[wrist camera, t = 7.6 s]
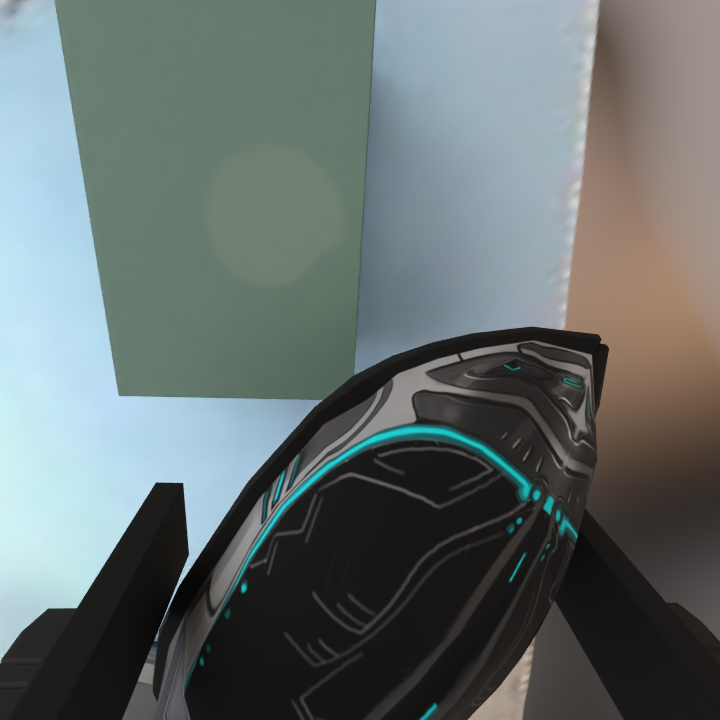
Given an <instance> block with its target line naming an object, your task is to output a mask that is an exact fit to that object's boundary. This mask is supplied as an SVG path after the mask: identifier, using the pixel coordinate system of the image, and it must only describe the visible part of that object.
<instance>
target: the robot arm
mask: <svg viewBox="0 0 720 720" xmlns="http://www.w3.org/2000/svg"><path fill="white" fill-rule="evenodd" d="M188 555H189V550H188V537H187V525H186V513H185V501H184V488H183V483H156V484H155V485H154V487H153V488H152V490H151V491H150V493H149V495H148V496H147V498H146V499H145V501H144V503H143V504H142V506H141V507H140V509H139V511H138V512H137V514H136V515H135V517H134V518H133V520H132V522H131V523H130V525H129V526H128V528H127V530H126V531H125V533H124V534H123V536H122V538H121V539H120V541H119V542H118V544H117V545H116V547H115V549H114V550H113V552H112V553H111V555H110V557H109V558H108V560H107V561H106V563H105V565H104V566H103V568H102V569H101V571H100V572H99V574H98V576H97V577H96V579H95V580H94V582H93V584H92V585H91V587H90V588H89V590H88V592H87V593H86V595H85V596H84V598H83V599H82V601H81V603H80V604H79V606H78V607H77V608H62V609H47V610H46V611H45V612H44V613H43V614H42V615H40V616H39V617H38V618H37V619H36V620H35V621H34V622H32V623H31V624H30V625H29V626H28V627H27V628H25V629H24V630H23V631H22V632H21V633H20V635H19V636H18V637H17V639H16V640H15V642H14V643H13V644H12V646H11V647H10V648H9V650H8V651H7V653H6V654H5V655H4V657H3V658H2V659H1V663H0V720H154V718H155V713H156V709H157V704H158V703H157V701H156V698H155V696H154V694H153V685H152V682H153V674H154V666H155V658H156V650H157V644H156V643H153V642H154V640H155V637H156V635H157V632H158V630H159V627H160V625H161V622H162V620H163V617H164V615H165V612H166V610H167V607H168V605H169V602H170V600H171V597H172V595H173V593H174V590H175V588H176V585H177V583H178V580H179V578H180V575H181V573H182V570H183V568H184V565H185V563H186V560H187V558H188ZM555 602H556V603H557V605H558V607H559V609H560V610H561V612H562V614H563V616H564V617H565V619H566V620H567V622H568V624H569V626H570V628H571V629H572V631H573V632H574V634H575V636H576V638H577V640H578V641H579V643H580V645H581V646H582V648H583V650H584V652H585V653H586V655H587V657H588V659H589V660H590V662H591V664H592V666H593V667H594V669H595V671H596V672H597V674H598V676H599V678H600V679H601V681H602V683H603V685H604V686H605V688H606V690H607V691H608V693H609V695H610V696H611V698H612V700H613V702H614V703H615V705H616V707H617V708H618V710H619V712H620V714H621V715H622V717H623V719H624V720H720V641H719V640H718V639H717V638H716V637H715V636H714V635H713V634H712V633H711V632H710V630H708V628H707V627H706V626H705V625H704V624H703V623H702V622H701V621H700V620H699V619H697V618H696V617H695V616H693V615H692V614H691V613H690V612H688V611H687V610H686V609H685V608H683V607H682V606H680V605H679V604H677V603H666V602H665V601H664V600H663V598H662V597H661V596H660V595H659V594H658V593H657V592H656V590H655V589H654V588H653V587H652V586H651V584H650V583H649V582H648V581H647V580H646V579H645V577H644V576H643V575H642V574H641V573H640V572H639V571H638V570H637V568H636V567H635V566H634V565H633V564H632V562H631V561H630V560H629V559H628V558H627V557H626V555H625V554H624V553H623V552H622V551H621V550H620V548H619V547H618V546H617V545H616V544H615V543H614V542H613V540H612V539H611V538H610V537H609V536H608V534H607V533H606V532H605V531H604V530H603V529H602V527H601V526H600V525H599V524H598V523H597V522H596V520H595V519H594V518H593V517H592V516H591V515H590V514H589V512H588V511H587V510H586V509H585V510H584V514H583V518H582V521H581V525H580V529H579V533H578V537H577V541H576V544H575V548H574V551H573V554H572V557H571V560H570V563H569V566H568V569H567V571H566V574H565V577H564V579H563V582H562V584H561V586H560V588H559V591H558V593H557V595H556V597H555Z"/></svg>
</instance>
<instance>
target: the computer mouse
mask: <svg viewBox="0 0 720 720" xmlns="http://www.w3.org/2000/svg"><path fill="white" fill-rule="evenodd" d="M600 341H601V338H600V336H599V335H597V334H589V333H580V332H572V331H564V330H556V329H548V328H539V327H524V328H515V329H507V330H498V331H489V332H481V333H472V334H468V335H464V336H459V337H455V338H450V339H446V340H442V341H437V342H433V343H430V344H427V345H424V346H421V347H418V348H415V349H412V350H409V351H406V352H403V353H400V354H396V355H393V356H391V357H389V358H387V359H385V360H383V361H382V362H380V363H378V364H376V365H374V366H372V367H370V368H368V369H366V370H364V371H362V372H360V373H358V374H356V375H354V376H352V377H351V378H350V379H349V380H347V381H346V382H345V383H344V384H343V385H341V386H340V387H339V388H338V389H336V390H335V391H334V392H333V393H332V394H330V395H329V396H328V397H327V398H325V399H324V400H323V401H322V402H321V403H319V404H318V405H317V406H316V407H314V408H313V410H312V411H311V412H310V413H309V414H308V415H307V416H306V417H305V419H304V420H303V421H302V422H301V423H300V424H299V425H298V426H297V428H296V429H295V430H294V431H293V432H292V433H291V434H290V435H289V436H288V438H287V439H286V440H285V441H284V442H283V443H282V444H281V445H280V447H279V448H278V449H277V450H276V451H275V452H274V453H273V454H272V456H271V457H270V458H269V459H268V460H267V461H266V462H265V463H264V464H263V466H262V467H261V468H260V469H259V470H258V471H257V472H256V473H255V475H254V476H253V477H252V478H251V479H250V480H249V481H248V483H247V484H246V486H245V487H244V489H243V490H242V492H241V493H240V495H239V496H238V498H237V499H236V501H235V502H234V504H233V505H232V507H231V508H230V510H229V511H228V513H227V514H226V516H225V517H224V519H223V520H222V522H221V523H220V525H219V527H218V528H217V530H216V531H215V533H214V534H213V536H212V537H211V539H210V540H209V542H208V543H207V545H206V546H205V548H204V549H203V551H202V552H201V554H200V555H199V557H198V558H197V560H196V561H195V563H194V564H193V566H192V567H191V569H190V570H189V572H188V573H187V575H186V577H185V578H184V580H183V581H182V583H181V584H180V586H179V587H178V589H177V592H176V594H175V596H174V598H173V600H172V603H171V605H170V607H169V609H168V611H167V614H166V616H165V618H164V620H163V622H162V625H161V627H160V629H159V635H158V642H157V650H156V658H155V666H154V674H153V682H152V685H153V694H154V696H155V698H156V701H157V703H158V704H157V709H156V713H155V718H154V720H468V719H469V717H470V716H471V715H472V714H473V713H474V712H475V711H476V710H477V709H478V708H479V707H480V706H481V705H482V704H483V703H484V702H485V701H486V700H487V699H488V698H489V697H490V696H491V695H492V694H493V693H494V692H495V691H496V689H497V688H498V687H499V686H500V685H501V684H502V682H503V681H504V680H505V678H506V677H507V676H508V675H509V673H510V672H511V671H512V669H513V668H514V667H515V665H516V664H517V663H518V661H519V660H520V659H521V658H522V656H523V654H524V653H525V651H526V650H527V648H528V646H529V645H530V643H531V642H532V640H533V638H534V637H535V635H536V633H537V632H538V630H539V629H540V626H541V625H542V623H543V621H544V619H545V617H546V615H547V613H548V611H549V609H550V607H551V605H552V604H553V602H554V600H555V597H556V595H557V593H558V591H559V588H560V586H561V584H562V582H563V579H564V577H565V574H566V571H567V569H568V566H569V563H570V560H571V557H572V554H573V551H574V548H575V544H576V541H577V537H578V533H579V529H580V525H581V521H582V518H583V514H584V510H585V506H586V502H587V498H588V494H589V490H590V486H591V482H592V478H593V474H594V470H595V466H596V462H597V445H596V424H595V415H596V413H597V410H598V408H599V405H600V399H601V393H602V386H603V381H604V375H605V369H606V363H607V357H608V352H609V348H608V346H607V345H605V344H600Z"/></svg>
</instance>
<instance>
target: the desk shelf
mask: <svg viewBox="0 0 720 720" xmlns="http://www.w3.org/2000/svg"><path fill="white" fill-rule="evenodd" d="M55 6H56V12H57V18H58V24H59V30H60V37H61V43H62V49H63V55H64V61H65V67H66V74H67V80H68V86H69V92H70V98H71V104H72V111H73V117H74V123H75V129H76V135H77V141H78V148H79V154H80V160H81V166H82V172H83V178H84V185H85V191H86V197H87V203H88V209H89V215H90V222H91V228H92V234H93V240H94V246H95V252H96V259H97V265H98V271H99V277H100V283H101V289H102V296H103V302H104V308H105V314H106V320H107V326H108V333H109V339H110V345H111V351H112V357H113V363H114V370H115V376H116V382H117V388H118V394H119V396H156V397H207V398H257V399H308V400H324V399H325V398H327V397H328V396H329V395H330V394H332V393H333V392H334V391H335V390H336V389H338V388H339V387H340V386H341V385H343V384H344V383H345V382H346V381H347V380H349V379H350V378H351V377H352V376H354V365H355V348H356V331H357V315H358V298H359V281H360V264H361V247H362V231H363V214H364V197H365V180H366V164H367V147H368V130H369V113H370V96H371V80H372V63H373V46H374V29H375V13H376V0H55Z"/></svg>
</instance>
